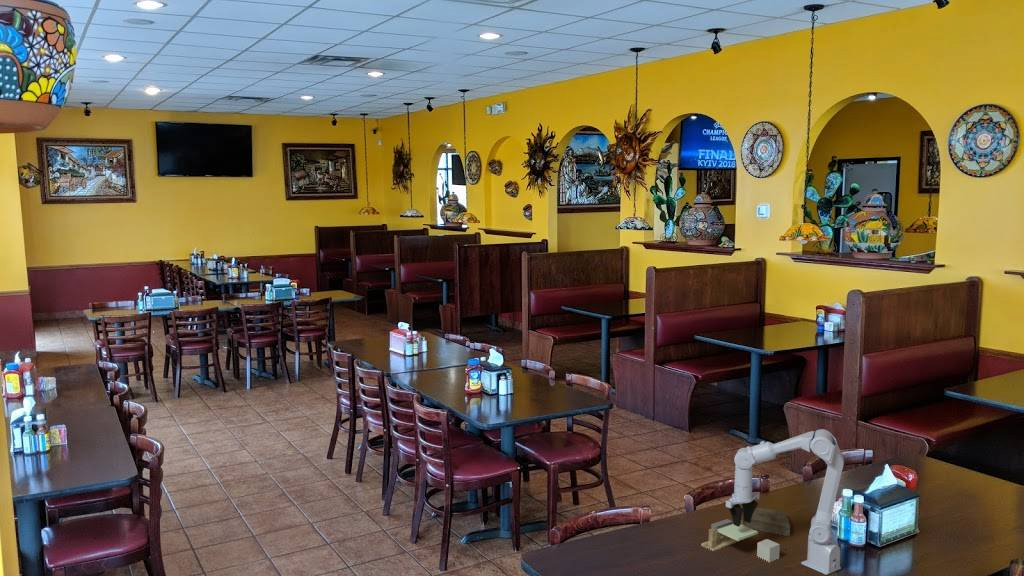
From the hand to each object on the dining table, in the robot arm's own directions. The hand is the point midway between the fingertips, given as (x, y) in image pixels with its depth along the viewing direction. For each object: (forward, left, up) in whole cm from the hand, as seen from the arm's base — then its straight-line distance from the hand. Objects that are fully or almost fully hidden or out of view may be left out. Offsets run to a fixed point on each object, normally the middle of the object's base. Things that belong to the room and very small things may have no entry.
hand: (741, 523), depth 266 cm
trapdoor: (+4, 0, -4) cm, 5 cm away
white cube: (-8, -4, -8) cm, 12 cm away
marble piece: (+9, -25, -10) cm, 29 cm away
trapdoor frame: (+8, 0, -10) cm, 13 cm away
